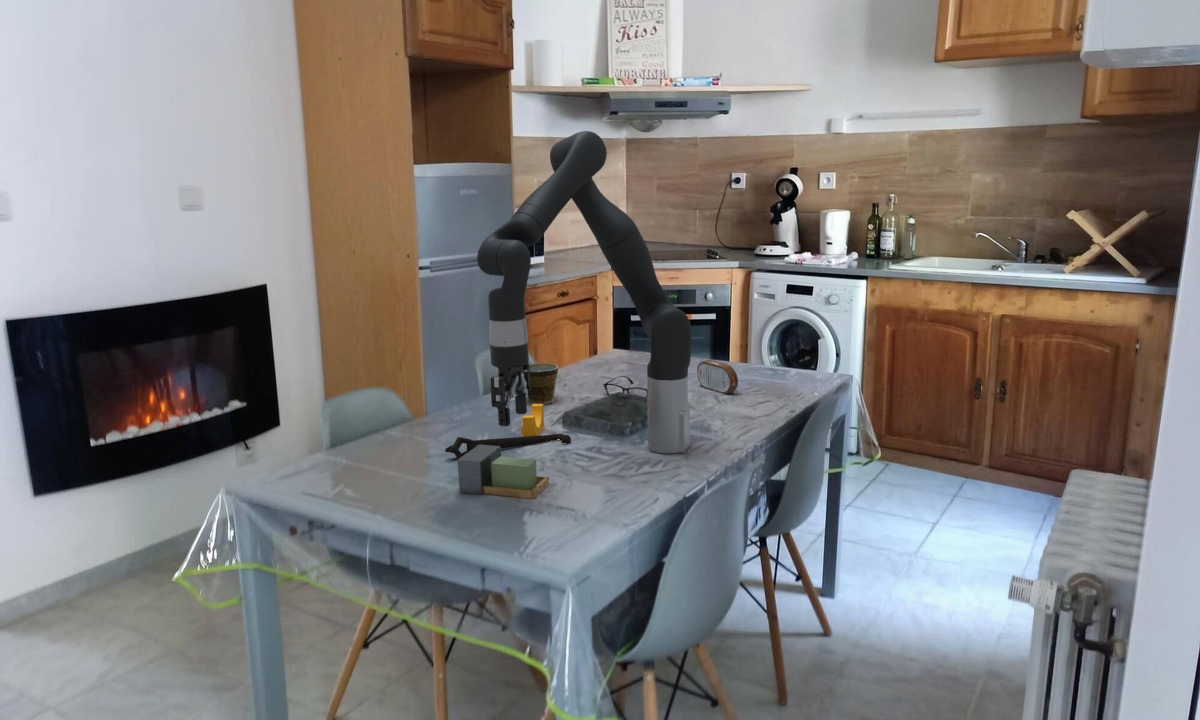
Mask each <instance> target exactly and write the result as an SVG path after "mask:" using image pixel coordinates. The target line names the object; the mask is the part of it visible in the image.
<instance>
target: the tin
mask: <svg viewBox="0 0 1200 720" xmlns="http://www.w3.org/2000/svg"><path fill="white" fill-rule="evenodd" d="M696 370H697V371H696V375H697V379H698V381H699V384H700V385H701V386H702V388H705V389H707V390H710V391H714V392H716V393H720V394H724V395H726V394H730V393H731V394H732V393H734V392H735V391H736V390H737V388H738V384H739V380H738V374H737V371H736V370H735V368H734V367H733V366H732V365H730V364H728V363H724V362H720V361H717V360H715V359H710V358H709V359H706V360H703V361H701V362H699V363H698V365H697V369H696Z"/></svg>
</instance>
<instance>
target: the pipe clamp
mask: <svg viewBox="0 0 1200 720" xmlns="http://www.w3.org/2000/svg"><path fill="white" fill-rule="evenodd" d="M544 411H545V410H544V405H543V404H531V414H530V415H526V414H523V417H522V425H521V427H520V428H521V431H520V432H521V436H522V435H523V436H522V437H526V436H541V434H542V432H543V431H544V429H545V416H544V415H545V412H544ZM542 430H543V431H542ZM540 433H541V434H540Z"/></svg>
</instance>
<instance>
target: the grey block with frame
mask: <svg viewBox="0 0 1200 720" xmlns="http://www.w3.org/2000/svg"><path fill="white" fill-rule="evenodd" d="M500 456H502V449H501V446H491V445H480V444H479V445H478V446H476V447H475V448H474V449H472V450H471V451H469V452H468V453H466V454H465V455H464V456H462V457H461V458H459V459H458V458H457V471H458V472H457V473H458V487H459V488H458V489H459V491H458V492H459V493H463V494H473V495H481V496H482V495H483V494H485V495H493V496H504V497H513V498H521V499H529V500H530V499H531V500H533V499H535V498H536V497H537V496H538V495H539V494H540V493H541V492H542V491H544V490H545V489H546V487H547V486H549V485H550V477H549V476H544V475H537V486H536V487H534V488H533V489H532V490H522V489H513V488H503V487H494V486H492V471H491V463H492V462H494V461H495V460H496V459H498V458H499V457H500Z"/></svg>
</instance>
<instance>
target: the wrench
mask: <svg viewBox="0 0 1200 720" xmlns="http://www.w3.org/2000/svg"><path fill="white" fill-rule="evenodd" d="M557 439H560V440H561V441H560V440H559V441H560V442H561V443H562V444H563V443H569V444H571V442H572V438H571V436H570V435H569V434H564V433H553V434H545V435H544V434H543V435H541V434H540V435H539V436H526V437H523V436H514V437H503V438H485V439H476V440H474V439H470V438H466V437H461V436H458V437H456V439H455V441H454V443H453V444H452V445H450V446H448V447H446V448H444V452H445V453H450V454H453V455H455V457H456V459H458V458H461V457H462V456H464V455H465V454H466V453H468V452H469V451H471V450H472V449H474V448H475V447H476V446H478V445H479V444H480V445H491V446H501V450H503V449H508V448H510V449H511V448H516V447H524V446H530V445H538V444H543V443H542V442H545V443H547V442H546V441H551V440H557ZM557 441H558V440H557ZM551 442H552V441H551ZM537 443H538V444H537ZM462 444H465V445H466V451H464V452H462V453H461V451H460V450H459V449H460V448H461V446H462Z"/></svg>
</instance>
